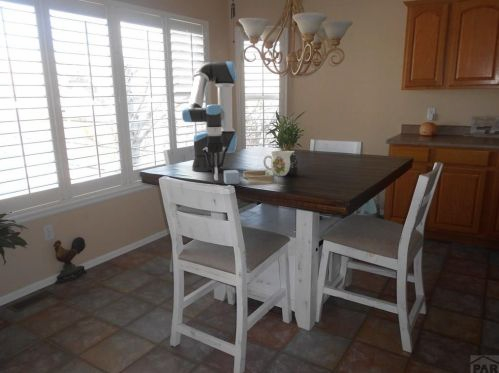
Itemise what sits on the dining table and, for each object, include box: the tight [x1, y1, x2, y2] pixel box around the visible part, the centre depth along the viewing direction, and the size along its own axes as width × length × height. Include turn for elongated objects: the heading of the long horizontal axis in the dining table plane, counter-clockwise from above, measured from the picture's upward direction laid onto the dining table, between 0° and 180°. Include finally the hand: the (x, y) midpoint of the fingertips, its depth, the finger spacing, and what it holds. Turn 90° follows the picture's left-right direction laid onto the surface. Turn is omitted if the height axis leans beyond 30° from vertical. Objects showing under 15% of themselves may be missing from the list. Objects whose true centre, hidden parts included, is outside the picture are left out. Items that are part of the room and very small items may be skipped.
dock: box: [242, 169, 275, 185], centre depth 214 cm, size 15×14×4 cm
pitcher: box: [263, 150, 295, 177], centre depth 228 cm, size 11×18×14 cm, turn 76°
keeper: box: [223, 169, 240, 185], centre depth 211 cm, size 7×7×6 cm
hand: (216, 179), depth 210 cm, fingers closed
